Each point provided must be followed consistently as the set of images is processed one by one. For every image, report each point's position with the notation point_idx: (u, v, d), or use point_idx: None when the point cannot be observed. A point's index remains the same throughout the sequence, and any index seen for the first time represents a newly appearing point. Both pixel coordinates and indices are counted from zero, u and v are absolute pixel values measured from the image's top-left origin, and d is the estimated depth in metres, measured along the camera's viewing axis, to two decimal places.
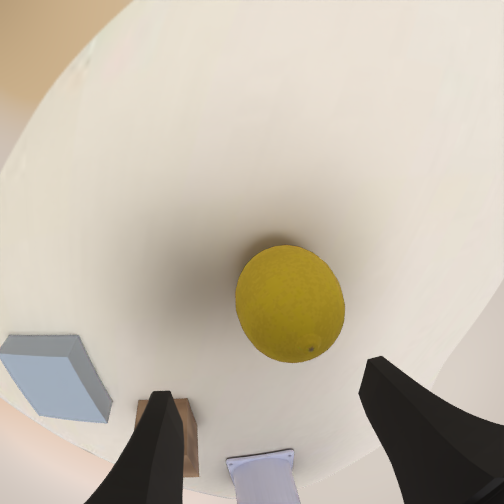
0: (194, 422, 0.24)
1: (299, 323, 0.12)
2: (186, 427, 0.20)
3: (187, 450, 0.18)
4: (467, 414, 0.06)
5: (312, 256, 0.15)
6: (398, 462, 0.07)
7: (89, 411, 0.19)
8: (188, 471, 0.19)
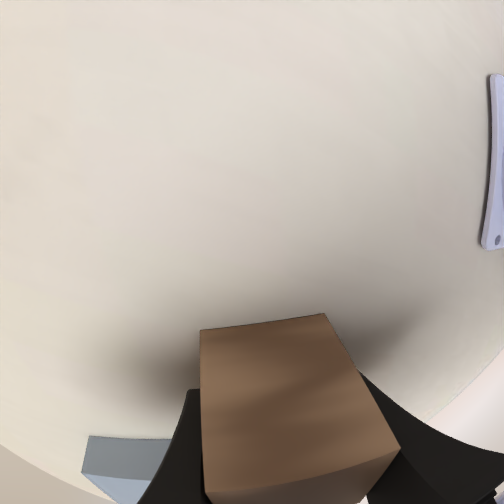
0: (294, 327, 0.10)
1: None
2: (202, 402, 0.07)
3: (213, 471, 0.05)
4: (435, 432, 0.06)
5: None
6: None
7: None
8: (346, 476, 0.05)
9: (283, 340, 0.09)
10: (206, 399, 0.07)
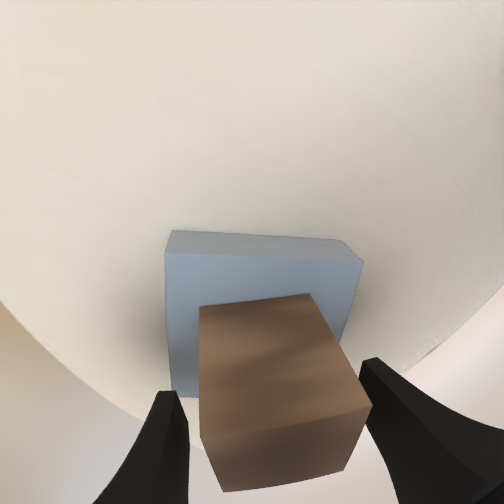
0: (282, 304, 0.11)
1: None
2: (199, 363, 0.09)
3: (207, 418, 0.07)
4: (462, 417, 0.06)
5: None
6: (393, 464, 0.07)
7: (323, 283, 0.12)
8: (324, 429, 0.07)
9: (272, 314, 0.11)
10: (203, 361, 0.09)
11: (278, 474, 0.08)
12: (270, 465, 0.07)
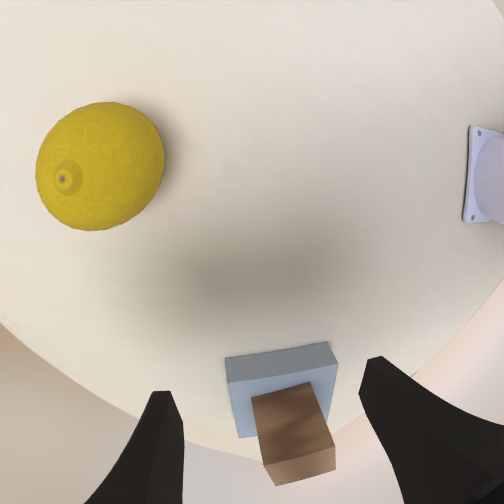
0: (294, 391, 0.20)
1: (48, 193, 0.08)
2: (257, 432, 0.17)
3: (265, 457, 0.15)
4: (467, 414, 0.06)
5: None
6: (398, 462, 0.07)
7: (315, 378, 0.20)
8: (315, 456, 0.15)
9: (289, 399, 0.19)
10: (259, 430, 0.17)
11: (300, 474, 0.16)
12: (295, 471, 0.16)
